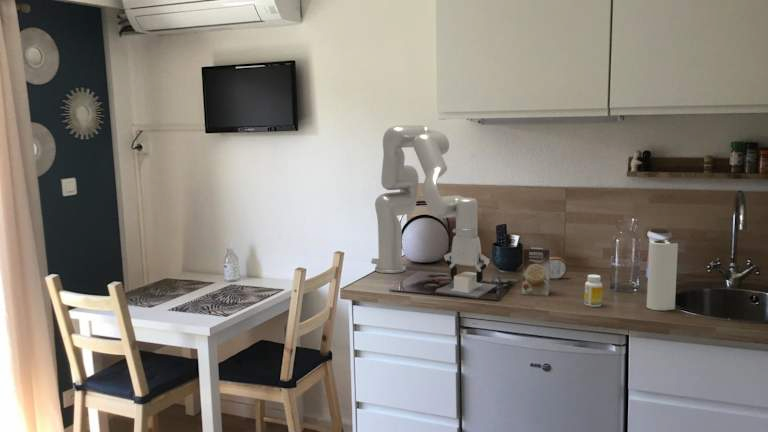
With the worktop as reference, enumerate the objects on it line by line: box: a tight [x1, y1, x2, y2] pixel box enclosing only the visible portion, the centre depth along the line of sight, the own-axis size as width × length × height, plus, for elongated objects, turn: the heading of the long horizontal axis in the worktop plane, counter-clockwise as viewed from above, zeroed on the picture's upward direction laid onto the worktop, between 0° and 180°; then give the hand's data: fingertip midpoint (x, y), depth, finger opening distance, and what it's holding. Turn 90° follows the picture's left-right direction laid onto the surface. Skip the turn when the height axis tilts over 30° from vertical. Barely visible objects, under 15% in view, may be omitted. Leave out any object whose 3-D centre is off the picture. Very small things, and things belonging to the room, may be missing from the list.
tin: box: [549, 256, 568, 280], centre depth 245 cm, size 15×3×8 cm, turn 84°
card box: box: [453, 271, 480, 291], centre depth 231 cm, size 9×6×5 cm, turn 146°
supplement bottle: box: [583, 274, 603, 308], centre depth 209 cm, size 5×5×10 cm
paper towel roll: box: [646, 240, 679, 311], centre depth 203 cm, size 7×6×21 cm
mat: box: [434, 281, 498, 299], centre depth 231 cm, size 16×18×1 cm
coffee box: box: [521, 245, 551, 297], centre depth 224 cm, size 9×6×16 cm
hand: (466, 280), depth 231 cm, fingers open, 9 cm apart
